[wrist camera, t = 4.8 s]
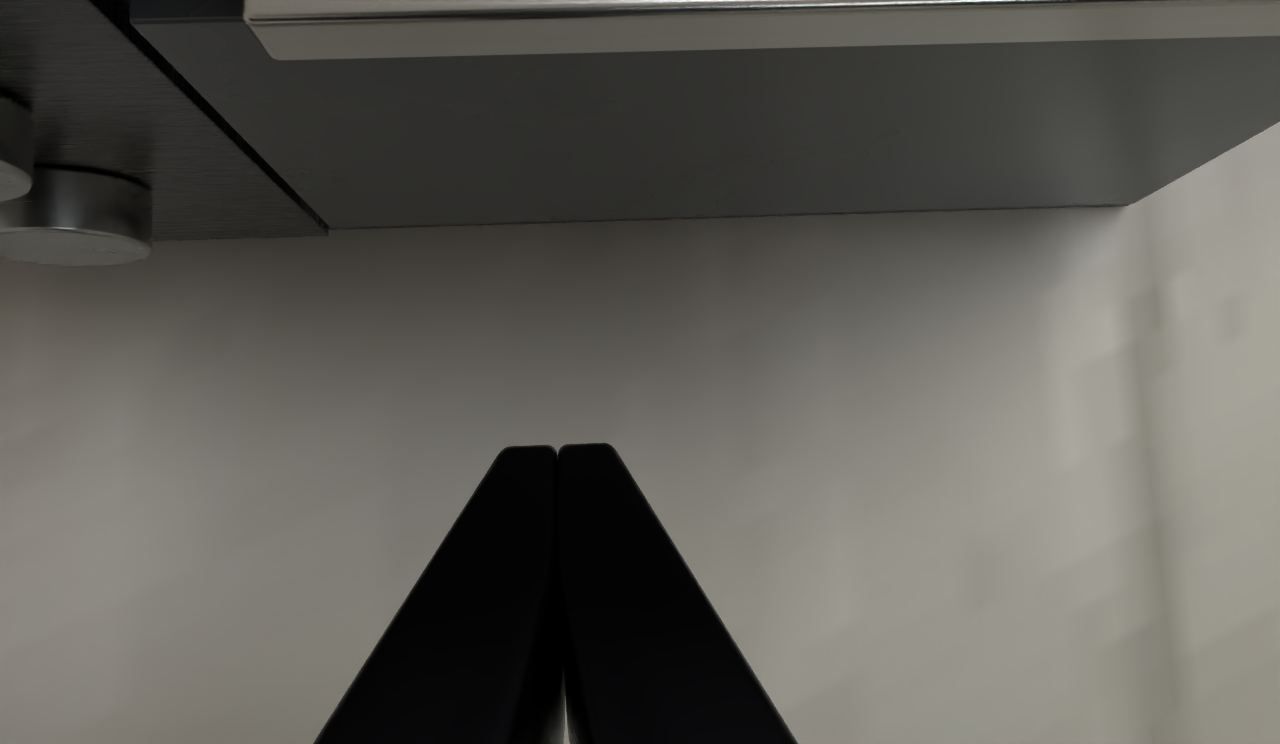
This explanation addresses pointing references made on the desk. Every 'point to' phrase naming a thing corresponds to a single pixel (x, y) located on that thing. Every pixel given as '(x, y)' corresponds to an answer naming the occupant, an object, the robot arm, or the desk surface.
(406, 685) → the robot arm
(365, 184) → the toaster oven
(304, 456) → the desk surface
